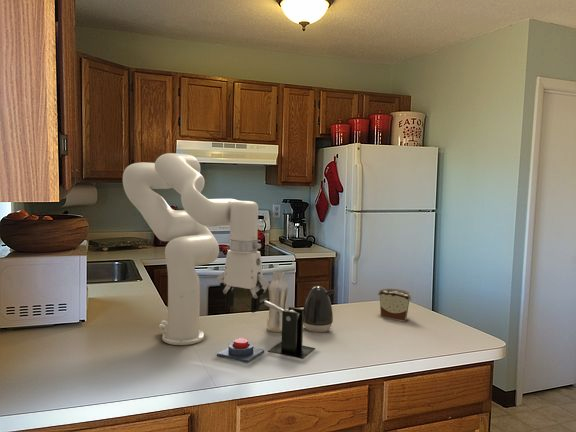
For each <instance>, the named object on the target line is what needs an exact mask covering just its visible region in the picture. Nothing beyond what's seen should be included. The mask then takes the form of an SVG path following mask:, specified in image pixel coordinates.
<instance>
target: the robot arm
mask: <svg viewBox="0 0 576 432" xmlns="http://www.w3.org/2000/svg"><path fill="white" fill-rule="evenodd" d="M205 183H206V181H205V178H204V176H203V175H202V174H201V164H200V162H199V160H198V159H197V157H196V156H194V155H192V154H187V153H174V152H167V153H164V154H161V155H160V156H158V157H157V158H156V160H155V162H143V161H142V162H134V163H131V164H129V165H128V166H126V167H125V168H124V170H123V173H122V186H123V190H124V193H125V195H126V196H127V198H128V200H129V201H130V203H131V204H132V205H133V206H134V207H135V208H136V210H137V211H138V212H139V213H140V214H141V216H142V218H143V219H144V220H145V222H146V224H147V225H148V226H149V229H150V230H151V231H152V232H153V234H154V235H155V236H156V238H157V239H158V240H160V241H161V242H167V244H166V245H165V249H164V258H165V263H166V269H167V320H161V322H160V324H159V325H158V329H160V330H164V333H163V334H162V337H161V338H162V342H164V343H166V344H168V345H171V346H189V345H190V346H191V345H194V344H198V343H200V342H202V341H204V339H205V333H204V332H203V331H202V330H200V318H201V317H200V312H201V311H200V310H201V308H200V307H201V305H200V304H201V281H200V280H201V279H200V276H199V274H198V272H197V271H196V268H195V267H199V266H204V265H208V264H211V263H214V262H215V261H216V260H217V259H218V258H219V254H220V246H219V243H218V240H217V239H216V237H215V236H214V235H213V233H212V231H211V230H210V229H209V227H211V228H212V227H220V226H229V249H227V252H226V257H225V261H224V262H225V263H224V271H223V272H222V273H221V274H219V275H218V276H216V281H217V282H218V284H219V286H220V288H221V290H222V293H223V294H224V304H225V305H224V306H225V309H229V308H231V307H233V306H234V305H235V303H234V301H235V292H234V291H233V290H234V289H235V288H241V289H247V290H248V289H249V291H250V293H251V295H252V297H251V300H250V312H251V313H253V314H254V313H256V312H259V310H260V307H261V306H260V301H261V297H262V296H263V295H264V294H265V293H267V290H268V287H269V286H270V283H271V282H269V281H268V280H267V279H266V278H265V277H264V275H263V274H264V273H263V261H262V256H261V251H259V249H261V248H262V244H261V243H259V240H258V235H259V234H258V232H259V231H258V230H259V205H258V203H257V202H255V201H252V200H238V199H235V198H207V196H205V195H204V194H202V191H203V189H204V187H205ZM166 189H167V190H168V189H173V190H174V191H176V193H178V194H179V195H180V201H181V206H182V210H175V209H173V208H172V207H171V206H170V205H169V204H168V203H167V201H166V200H165V199H164V197H163V196H162V195H160V194H159V193H157V192H156V191H154V190H166ZM260 287H261V288H260Z"/></svg>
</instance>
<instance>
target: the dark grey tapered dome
mask: <svg viewBox="0 0 576 432" xmlns="http://www.w3.org/2000/svg"><path fill="white" fill-rule="evenodd" d="M334 293H336V290H335V289H330V290H327V289H325V287H323V286H322V285H316V286H313V287H312V288H311V289H310V290H309V292H308V295H307V296H306V299H305V302H304V304H303V309H304V313H303V328H305V330H307V331H308V332H312V333H327V332H329V330H330V329H331V327H332V324H333V322H334V314H333V313H334V311H333V305H332V302H331V298H330V296H329V295H332V294H334Z"/></svg>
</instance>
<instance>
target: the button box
mask: <svg viewBox="0 0 576 432" xmlns="http://www.w3.org/2000/svg"><path fill="white" fill-rule="evenodd" d="M264 353H265V349H263V348H258V347H255V346H254V343H252V342H251V341H248V347H247V348H235V347H234V341H232V342H230V343H228V347H225V348H224V349H222V350H220V351H218V352H217V353H216V356H217V357H218V358H219V357H220V358H224V359H229V360H233V361H237V362H241V363H246V364H249V363H250V362H252V361H253V360H255V359H257V358H258V357H260V356H261V355H262V354H264Z"/></svg>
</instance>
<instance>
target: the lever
mask: <svg viewBox="0 0 576 432" xmlns="http://www.w3.org/2000/svg"><path fill="white" fill-rule="evenodd" d="M269 301H270V299H269V297H266V298H263V299H262V300H260V307H261V306H263V305H264V306H267V307H268V308H269V307H270V308H272V309H274V310H276V311H278V312H280V313H282V311H283V310H285V309H283V308H281V307H279V306H276V305H274V304H272V303H270V302H269ZM286 311H288V310H287V309H286ZM290 311H292V312H296V311H294V310H290ZM299 315H300V313H298V318H299Z"/></svg>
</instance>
